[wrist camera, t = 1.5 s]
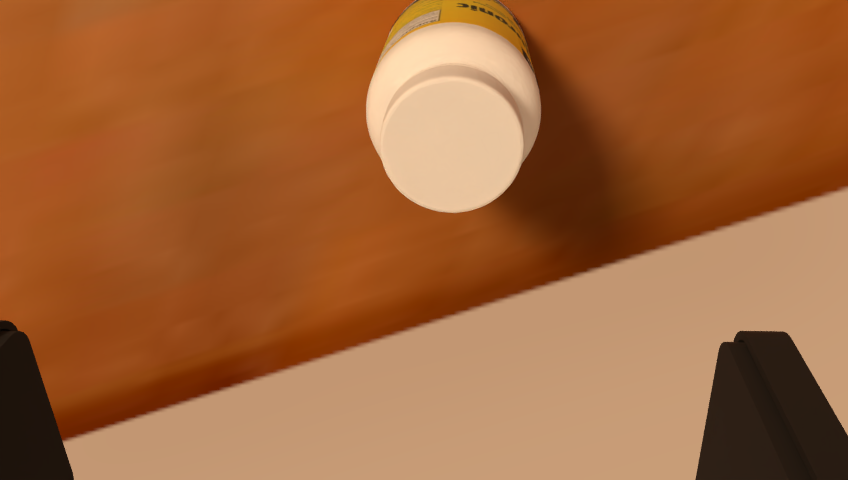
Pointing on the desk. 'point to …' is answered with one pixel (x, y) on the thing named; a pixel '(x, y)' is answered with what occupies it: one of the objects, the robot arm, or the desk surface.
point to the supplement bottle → (454, 103)
